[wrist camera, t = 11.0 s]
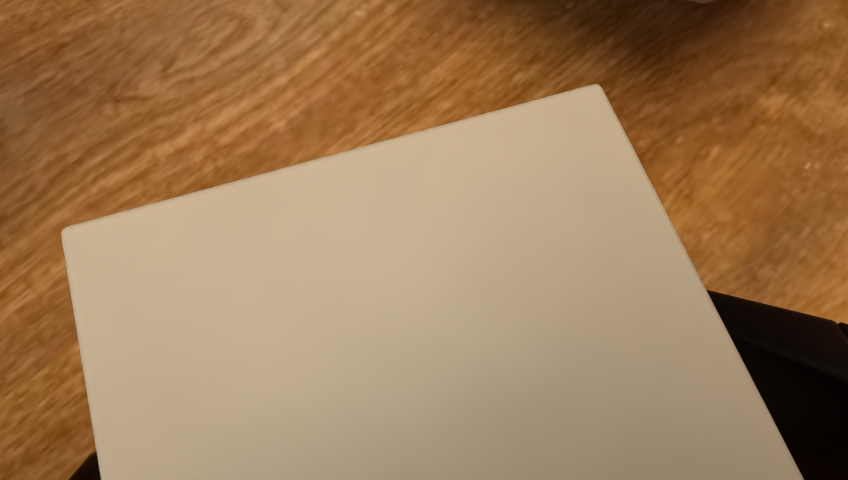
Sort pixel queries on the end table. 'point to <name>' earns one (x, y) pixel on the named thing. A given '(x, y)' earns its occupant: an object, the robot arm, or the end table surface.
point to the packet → (418, 319)
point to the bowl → (700, 1)
